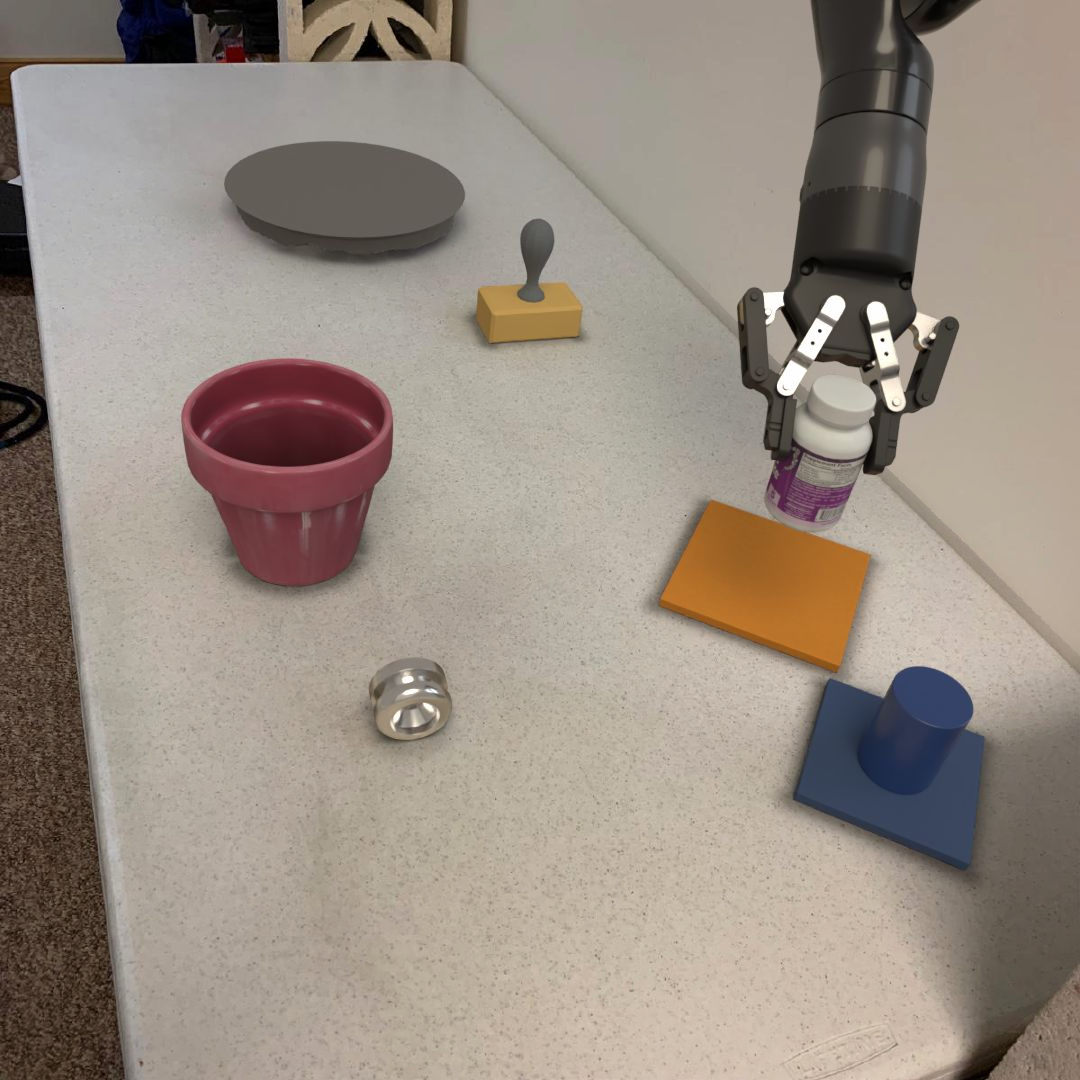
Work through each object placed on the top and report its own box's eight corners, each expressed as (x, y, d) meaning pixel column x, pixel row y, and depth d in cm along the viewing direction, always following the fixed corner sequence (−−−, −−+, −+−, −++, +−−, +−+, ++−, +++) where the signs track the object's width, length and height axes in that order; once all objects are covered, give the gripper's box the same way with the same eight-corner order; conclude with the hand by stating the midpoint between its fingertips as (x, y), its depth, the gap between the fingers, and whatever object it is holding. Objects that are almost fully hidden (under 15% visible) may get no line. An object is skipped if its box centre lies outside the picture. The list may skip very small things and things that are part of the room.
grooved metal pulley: (443, 702, 67) (446, 652, 64) (452, 737, 65) (456, 687, 62) (368, 713, 66) (368, 663, 62) (375, 749, 64) (375, 699, 60)
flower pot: (382, 484, 84) (383, 352, 75) (401, 603, 74) (404, 465, 65) (204, 493, 80) (184, 356, 72) (198, 618, 70) (174, 476, 62)
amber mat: (868, 561, 83) (871, 554, 82) (836, 673, 73) (840, 666, 72) (708, 505, 86) (710, 498, 86) (658, 605, 76) (660, 598, 76)
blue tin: (936, 750, 67) (977, 683, 63) (927, 807, 64) (970, 740, 59) (863, 722, 69) (898, 654, 64) (851, 776, 65) (887, 708, 60)
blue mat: (980, 743, 69) (984, 736, 69) (965, 871, 62) (970, 864, 61) (826, 684, 72) (829, 677, 71) (793, 800, 64) (796, 792, 64)
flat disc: (229, 276, 107) (224, 237, 104) (226, 173, 127) (223, 138, 124) (482, 273, 114) (485, 237, 111) (443, 176, 134) (444, 143, 131)
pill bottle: (762, 478, 70) (801, 359, 63) (838, 493, 69) (885, 376, 63) (760, 526, 66) (801, 405, 59) (840, 543, 65) (890, 423, 59)
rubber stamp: (561, 311, 110) (576, 206, 102) (579, 338, 106) (595, 231, 98) (474, 317, 107) (482, 209, 99) (489, 345, 103) (499, 234, 95)
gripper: (763, 165, 60) (725, 440, 59) (998, 199, 60) (965, 475, 59) (737, 213, 67) (703, 458, 66) (946, 243, 67) (916, 489, 66)
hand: (826, 465), depth 63 cm, fingers closed on pill bottle, 5 cm apart
